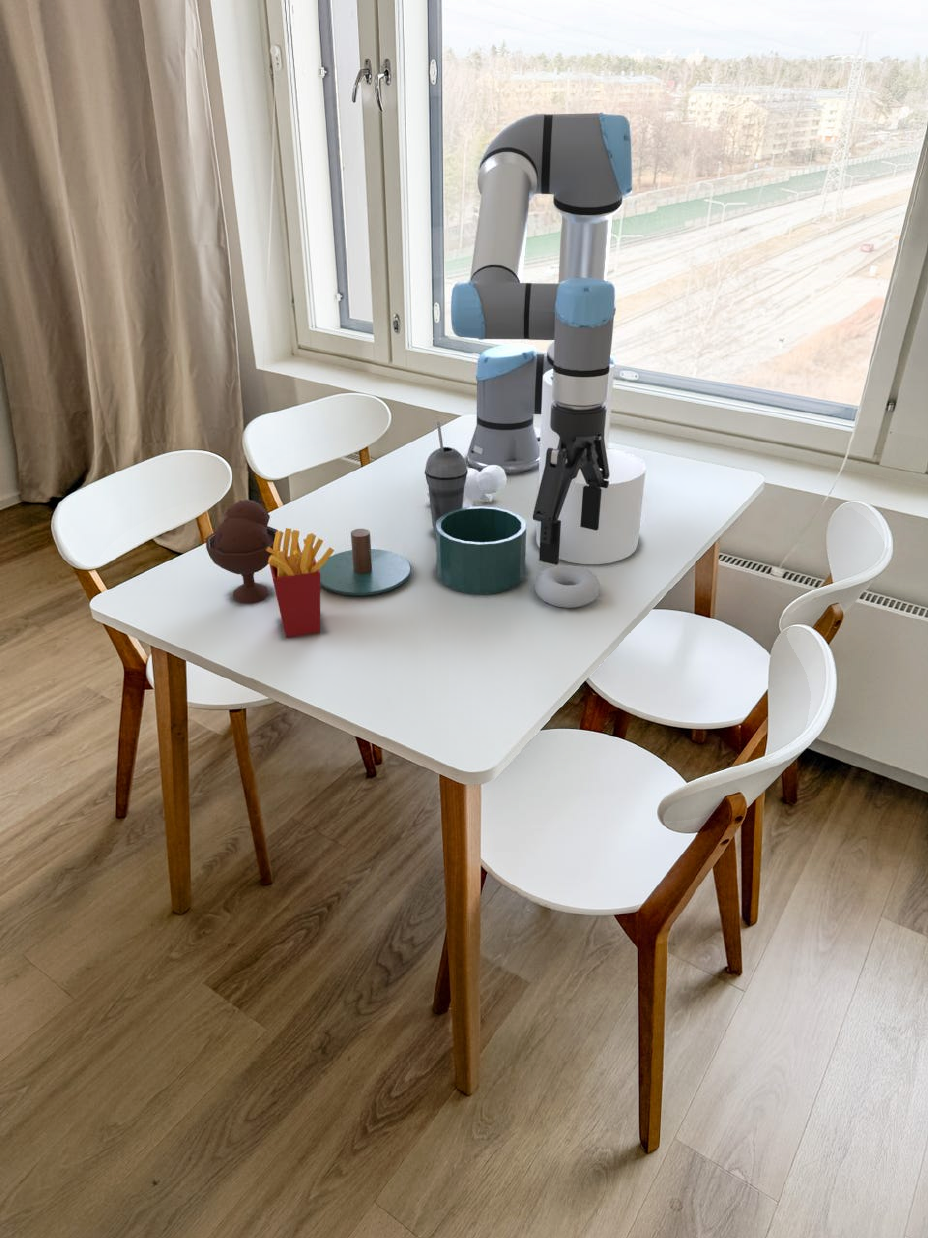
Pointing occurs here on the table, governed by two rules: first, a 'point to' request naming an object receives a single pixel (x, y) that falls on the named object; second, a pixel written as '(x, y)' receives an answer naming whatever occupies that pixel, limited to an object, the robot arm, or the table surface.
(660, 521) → the table surface
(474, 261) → the robot arm
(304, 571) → the french fries
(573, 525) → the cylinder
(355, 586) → the tin lid
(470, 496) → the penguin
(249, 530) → the ice cream bowl
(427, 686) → the table surface
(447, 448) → the beverage cup
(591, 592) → the donut
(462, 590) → the tin
